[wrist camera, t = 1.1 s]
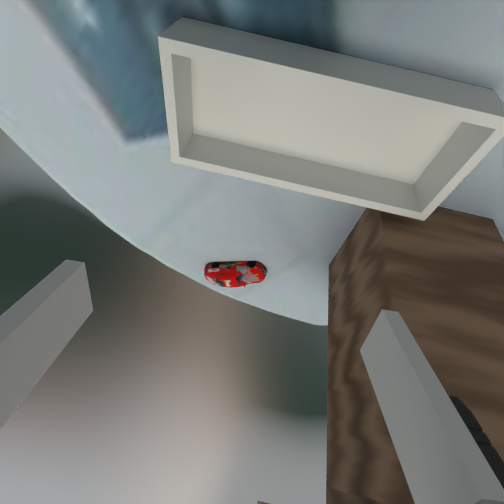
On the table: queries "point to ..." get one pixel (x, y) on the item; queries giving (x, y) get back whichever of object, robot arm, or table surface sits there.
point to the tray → (321, 119)
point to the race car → (234, 273)
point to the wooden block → (422, 329)
